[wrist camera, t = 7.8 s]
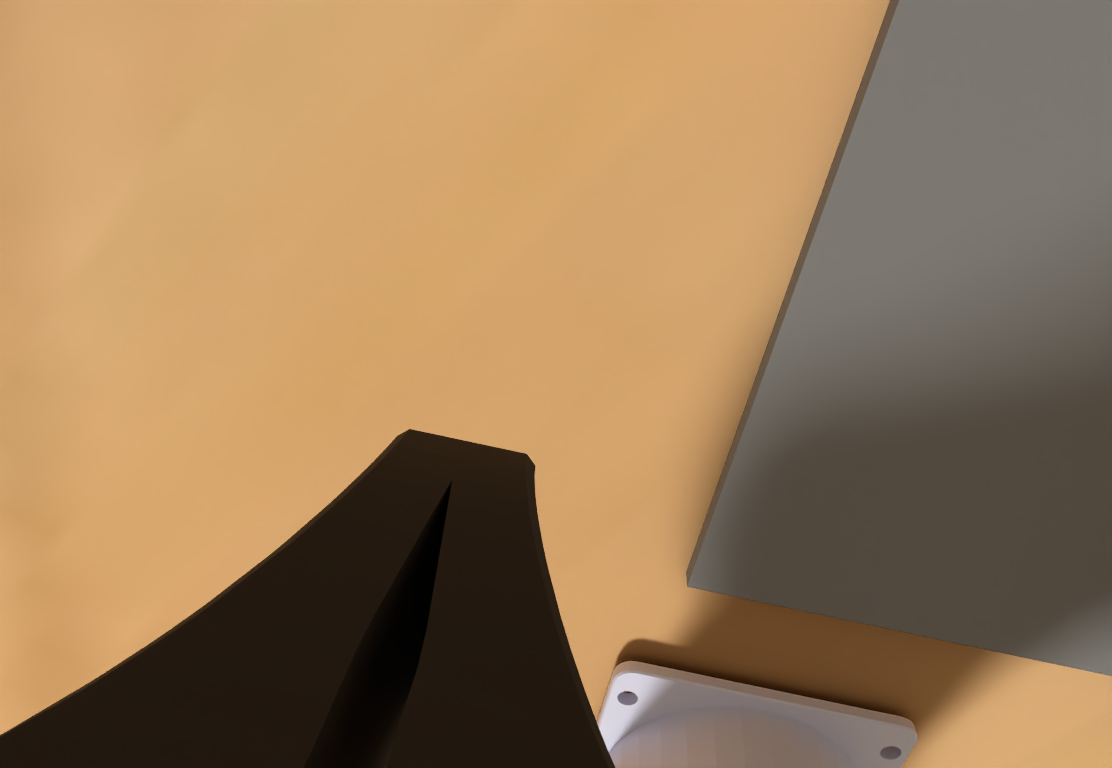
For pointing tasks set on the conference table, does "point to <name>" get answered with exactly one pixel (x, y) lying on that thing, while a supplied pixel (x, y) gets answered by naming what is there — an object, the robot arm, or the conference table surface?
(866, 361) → the mat
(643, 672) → the robot arm
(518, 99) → the conference table surface
